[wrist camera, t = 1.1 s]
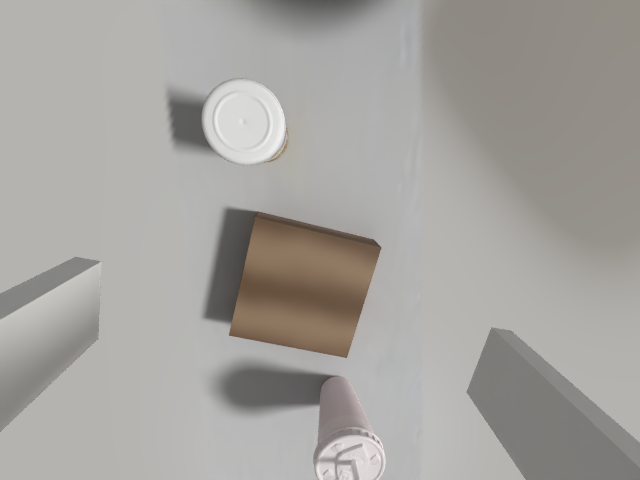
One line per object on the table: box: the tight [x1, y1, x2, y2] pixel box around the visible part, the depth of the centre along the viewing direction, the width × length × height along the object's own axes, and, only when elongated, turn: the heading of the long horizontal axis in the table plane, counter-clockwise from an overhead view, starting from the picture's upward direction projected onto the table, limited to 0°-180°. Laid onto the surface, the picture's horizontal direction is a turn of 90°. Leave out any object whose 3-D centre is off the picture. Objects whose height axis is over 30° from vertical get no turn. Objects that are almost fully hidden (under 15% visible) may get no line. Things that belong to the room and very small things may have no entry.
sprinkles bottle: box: [201, 78, 288, 165], centre depth 24 cm, size 5×5×13 cm
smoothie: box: [313, 376, 386, 480], centre depth 31 cm, size 6×6×14 cm
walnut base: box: [229, 212, 381, 358], centre depth 33 cm, size 12×12×3 cm
